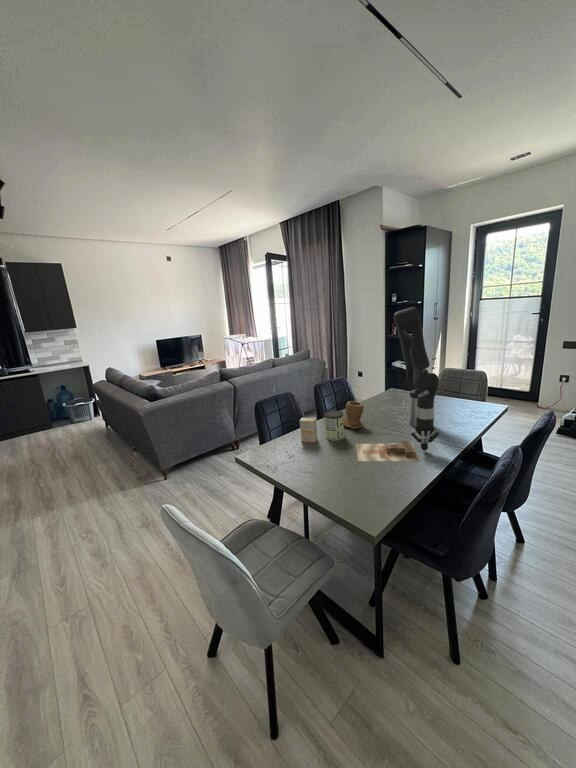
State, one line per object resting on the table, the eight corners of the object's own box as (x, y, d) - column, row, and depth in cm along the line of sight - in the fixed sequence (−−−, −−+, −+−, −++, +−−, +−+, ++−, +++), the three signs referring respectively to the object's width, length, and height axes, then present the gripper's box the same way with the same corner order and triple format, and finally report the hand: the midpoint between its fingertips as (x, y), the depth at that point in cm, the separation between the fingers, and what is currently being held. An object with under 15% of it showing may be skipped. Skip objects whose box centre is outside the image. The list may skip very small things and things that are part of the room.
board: (412, 445, 156) (412, 443, 156) (421, 463, 139) (421, 461, 139) (355, 445, 161) (355, 443, 161) (357, 462, 144) (357, 461, 143)
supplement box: (317, 439, 171) (316, 418, 168) (315, 443, 167) (313, 421, 164) (304, 438, 175) (302, 416, 171) (301, 442, 171) (299, 420, 167)
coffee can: (327, 432, 180) (326, 409, 176) (345, 433, 176) (344, 410, 173) (324, 440, 170) (322, 416, 167) (342, 441, 167) (341, 417, 163)
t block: (409, 446, 153) (409, 440, 152) (415, 457, 142) (415, 452, 141) (384, 446, 155) (384, 440, 155) (388, 457, 144) (388, 452, 143)
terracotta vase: (368, 425, 184) (367, 402, 180) (354, 431, 177) (354, 407, 174) (349, 419, 196) (348, 397, 192) (335, 425, 189) (334, 402, 185)
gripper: (437, 412, 144) (436, 446, 149) (408, 413, 147) (407, 446, 151) (443, 418, 137) (441, 453, 142) (411, 419, 139) (411, 453, 144)
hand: (424, 449), depth 146 cm, fingers closed
